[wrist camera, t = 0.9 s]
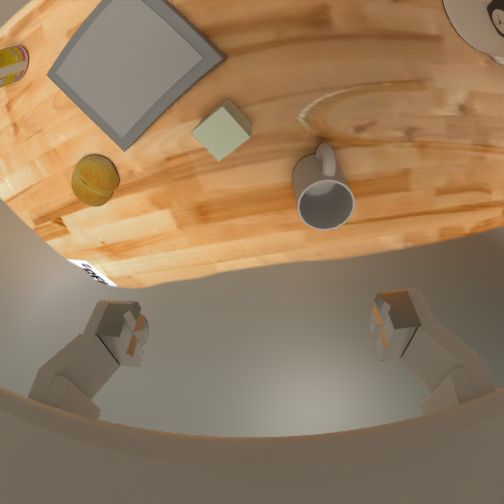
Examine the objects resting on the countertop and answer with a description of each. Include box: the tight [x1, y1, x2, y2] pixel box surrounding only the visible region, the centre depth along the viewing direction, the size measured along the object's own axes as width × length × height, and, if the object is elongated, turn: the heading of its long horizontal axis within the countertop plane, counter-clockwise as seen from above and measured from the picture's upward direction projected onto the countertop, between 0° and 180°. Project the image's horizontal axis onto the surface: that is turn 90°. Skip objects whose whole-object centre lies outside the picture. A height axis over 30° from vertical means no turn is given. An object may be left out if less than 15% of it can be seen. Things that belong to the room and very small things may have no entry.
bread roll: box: [72, 155, 119, 206], centre depth 41 cm, size 8×9×4 cm
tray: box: [47, 0, 226, 152], centre depth 29 cm, size 18×18×4 cm
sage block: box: [191, 98, 253, 162], centre depth 35 cm, size 5×5×6 cm
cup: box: [292, 143, 355, 231], centre depth 37 cm, size 7×10×9 cm
